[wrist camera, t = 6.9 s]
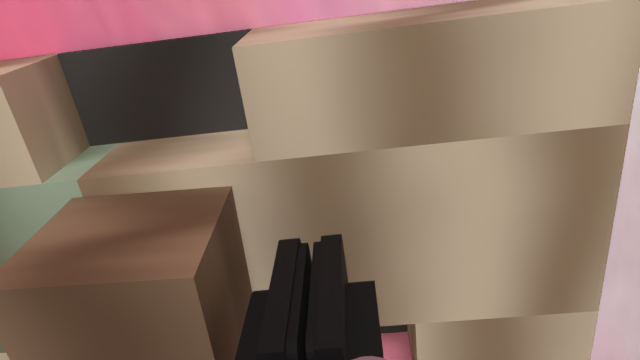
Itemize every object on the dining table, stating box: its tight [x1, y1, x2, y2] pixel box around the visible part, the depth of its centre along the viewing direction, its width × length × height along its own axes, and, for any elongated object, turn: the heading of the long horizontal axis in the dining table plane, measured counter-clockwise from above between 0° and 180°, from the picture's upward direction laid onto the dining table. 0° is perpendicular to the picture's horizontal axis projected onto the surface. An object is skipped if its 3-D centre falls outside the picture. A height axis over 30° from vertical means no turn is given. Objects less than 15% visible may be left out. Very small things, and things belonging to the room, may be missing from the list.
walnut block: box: [0, 186, 252, 360], centre depth 12 cm, size 4×4×4 cm
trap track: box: [0, 0, 640, 360], centre depth 14 cm, size 23×12×6 cm, turn 97°
